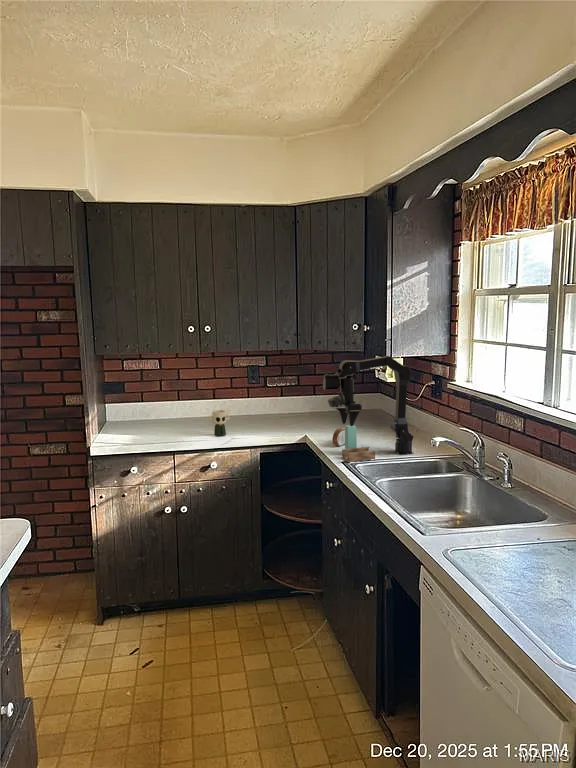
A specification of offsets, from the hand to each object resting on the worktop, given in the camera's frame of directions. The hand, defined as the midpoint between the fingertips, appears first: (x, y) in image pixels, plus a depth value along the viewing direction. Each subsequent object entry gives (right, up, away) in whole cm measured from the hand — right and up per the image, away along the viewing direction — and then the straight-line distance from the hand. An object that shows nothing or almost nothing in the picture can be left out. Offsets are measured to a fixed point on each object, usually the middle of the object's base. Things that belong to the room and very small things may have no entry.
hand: (347, 425), depth 251 cm
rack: (+5, -15, -1) cm, 16 cm away
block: (+2, -14, +8) cm, 16 cm away
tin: (+1, -11, +25) cm, 28 cm away
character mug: (-62, -9, +51) cm, 81 cm away
